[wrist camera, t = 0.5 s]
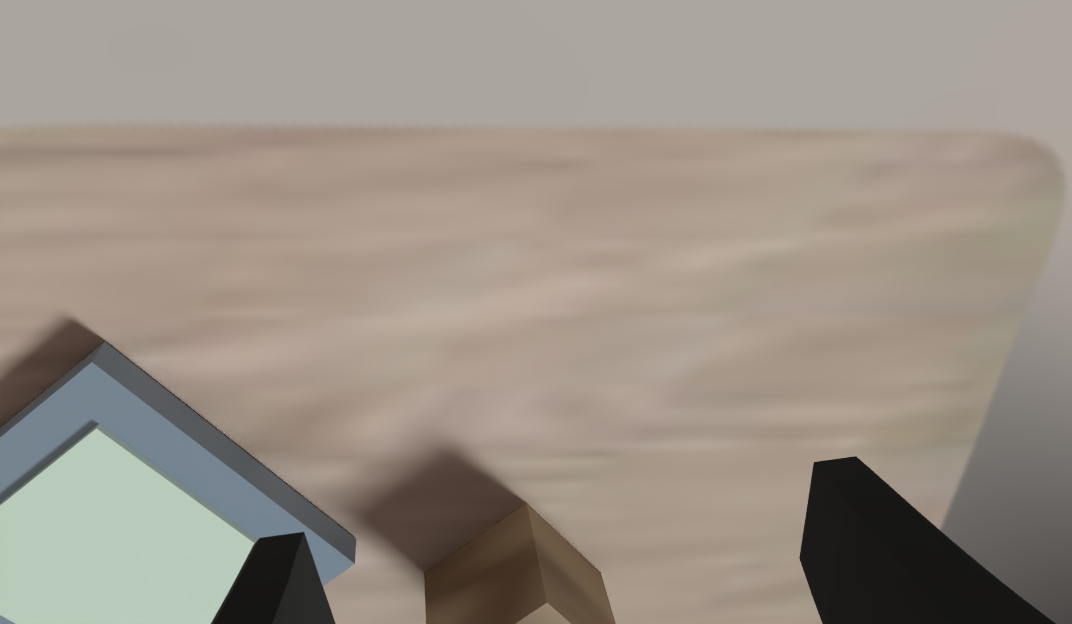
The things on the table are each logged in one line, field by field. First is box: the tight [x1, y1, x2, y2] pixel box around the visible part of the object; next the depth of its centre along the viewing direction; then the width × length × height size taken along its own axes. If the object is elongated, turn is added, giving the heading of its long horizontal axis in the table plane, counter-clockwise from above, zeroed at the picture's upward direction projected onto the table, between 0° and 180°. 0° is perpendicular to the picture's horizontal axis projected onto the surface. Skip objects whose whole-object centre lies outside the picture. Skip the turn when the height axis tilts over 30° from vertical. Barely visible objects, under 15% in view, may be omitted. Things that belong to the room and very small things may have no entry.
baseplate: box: [0, 342, 356, 624], centre depth 23 cm, size 9×9×1 cm
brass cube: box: [424, 503, 616, 624], centre depth 25 cm, size 4×4×4 cm
